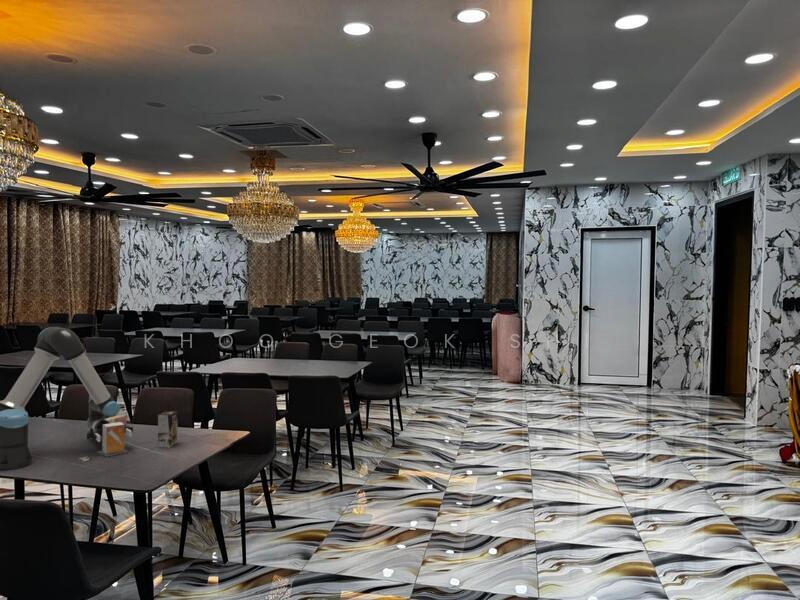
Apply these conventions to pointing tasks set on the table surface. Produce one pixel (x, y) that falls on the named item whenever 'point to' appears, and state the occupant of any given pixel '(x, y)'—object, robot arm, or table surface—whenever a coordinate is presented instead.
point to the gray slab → (111, 453)
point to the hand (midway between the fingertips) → (115, 436)
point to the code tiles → (84, 458)
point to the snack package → (117, 419)
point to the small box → (113, 438)
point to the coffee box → (167, 429)
